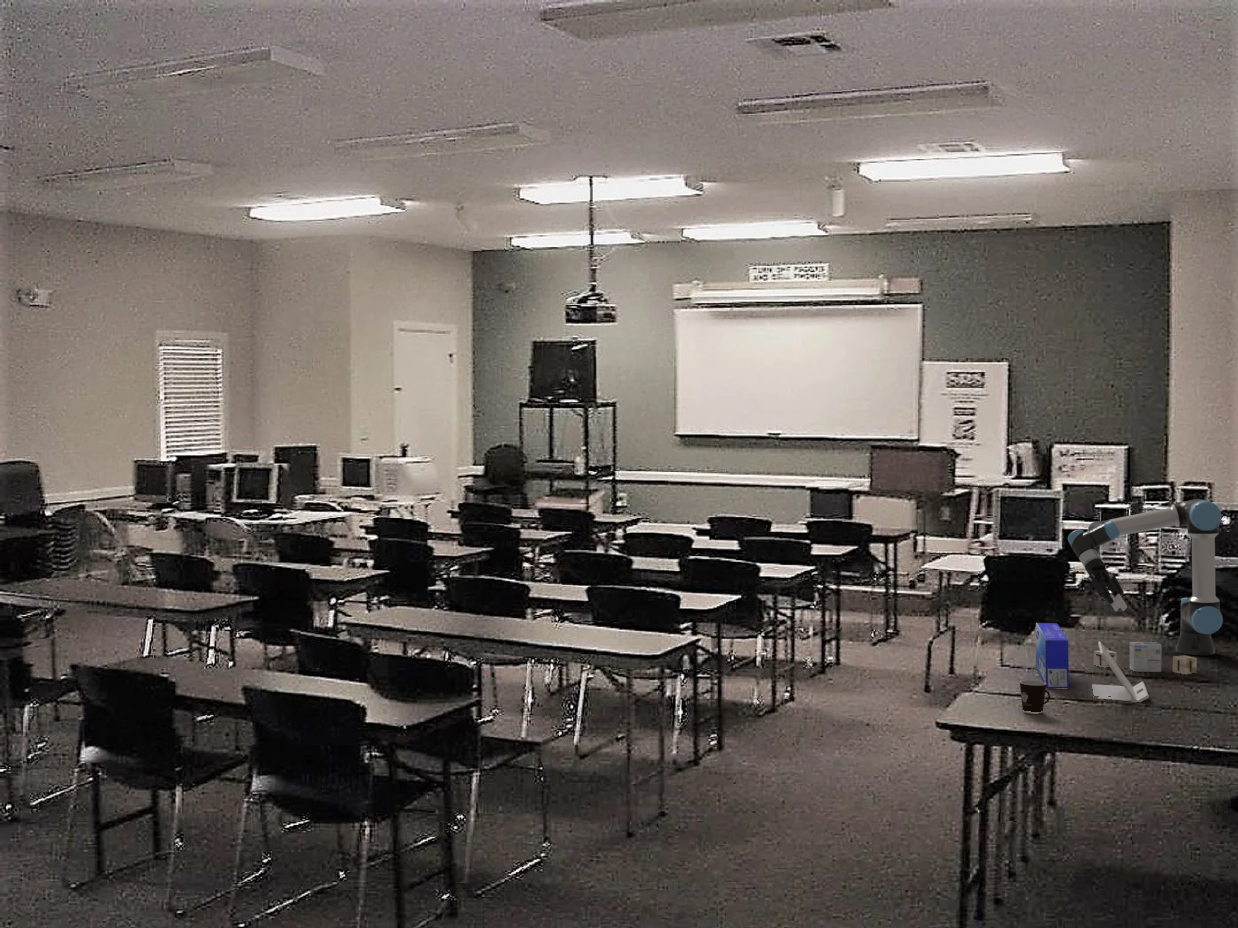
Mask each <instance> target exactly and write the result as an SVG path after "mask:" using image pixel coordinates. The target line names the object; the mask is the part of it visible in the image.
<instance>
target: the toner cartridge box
mask: <svg viewBox="0 0 1238 928" xmlns="http://www.w3.org/2000/svg"><path fill="white" fill-rule="evenodd" d="M1069 661H1070V660H1069V639H1068V638H1067V636H1066V634H1065V633H1064V632H1063V630H1062V629H1061V627H1060V626H1059V624H1058V623H1055V622H1052V623H1051V622H1035V669H1036V670H1037V672H1038V675H1039V677H1040V679H1041V681H1042V682H1045V683H1047V684H1046V688H1069V689H1070V687H1069V686H1070V685H1069V681H1070V680H1069V678H1070V677H1069V675H1070V673H1069V671H1070V670H1069V669H1070V668H1069V665H1070V663H1069Z"/></svg>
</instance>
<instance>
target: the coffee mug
mask: <svg viewBox="0 0 1238 928" xmlns="http://www.w3.org/2000/svg"><path fill="white" fill-rule="evenodd" d="M1046 684H1047V683H1045V682H1043V681H1042V680H1033V679H1032V680H1031V679H1027V680H1026V679H1025V680H1020V681H1019V688H1020V689H1019V690H1020V697H1021V699H1020V701H1021V707H1022V711H1023V710H1024V711H1031V712H1041V711H1043V712H1044V706H1045V705H1046V704H1047V703H1048V702H1050V699H1051V694H1050V692H1049V691H1048V689H1046ZM1046 694H1047V699H1046V701H1045V698H1046Z"/></svg>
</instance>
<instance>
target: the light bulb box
mask: <svg viewBox="0 0 1238 928" xmlns="http://www.w3.org/2000/svg"><path fill="white" fill-rule="evenodd" d="M1129 669H1130V670H1131V671H1132V670H1133V671H1132V672H1134V671H1135V672H1136V673H1139V672H1143V673H1146V672H1147V673H1148V672H1149V673H1161V672H1162V644H1161V643H1158V642H1157V641H1154V642H1153V641H1129Z"/></svg>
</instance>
